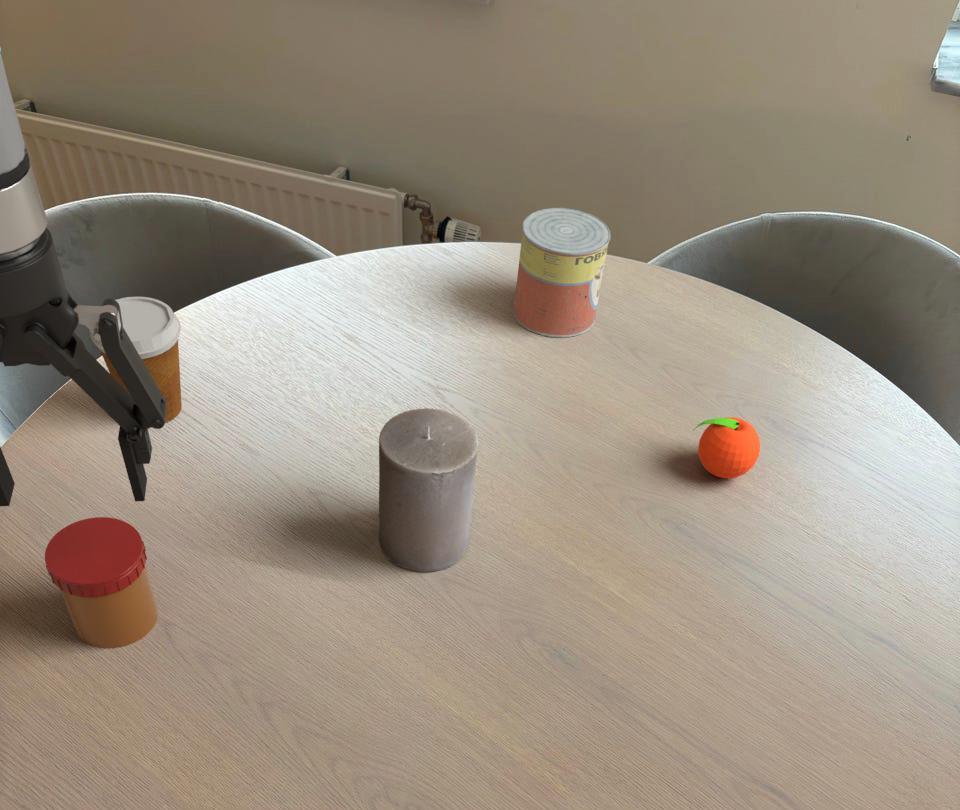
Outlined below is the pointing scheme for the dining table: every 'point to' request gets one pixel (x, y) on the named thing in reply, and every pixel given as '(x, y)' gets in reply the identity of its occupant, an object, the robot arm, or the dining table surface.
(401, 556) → the pillar candle
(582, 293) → the canned food
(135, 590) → the jam jar
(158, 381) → the disposable coffee cup
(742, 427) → the clementine
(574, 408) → the dining table surface
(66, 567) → the lid
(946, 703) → the dining table surface
